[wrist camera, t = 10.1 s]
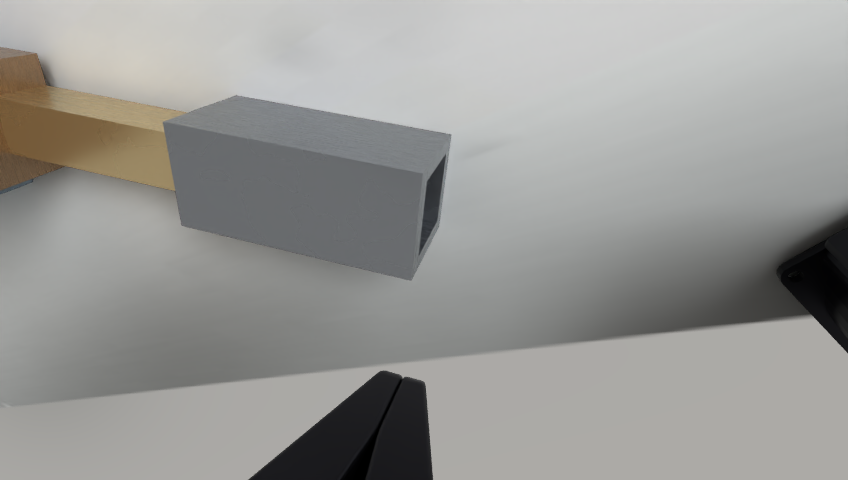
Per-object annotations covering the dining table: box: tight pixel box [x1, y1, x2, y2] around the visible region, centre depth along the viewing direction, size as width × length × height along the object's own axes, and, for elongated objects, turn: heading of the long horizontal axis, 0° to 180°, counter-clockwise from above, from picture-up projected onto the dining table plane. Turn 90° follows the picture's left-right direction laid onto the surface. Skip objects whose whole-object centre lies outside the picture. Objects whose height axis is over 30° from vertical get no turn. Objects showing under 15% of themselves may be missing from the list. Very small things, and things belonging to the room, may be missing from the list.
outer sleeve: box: [163, 96, 451, 281], centre depth 20 cm, size 10×4×5 cm, turn 84°
